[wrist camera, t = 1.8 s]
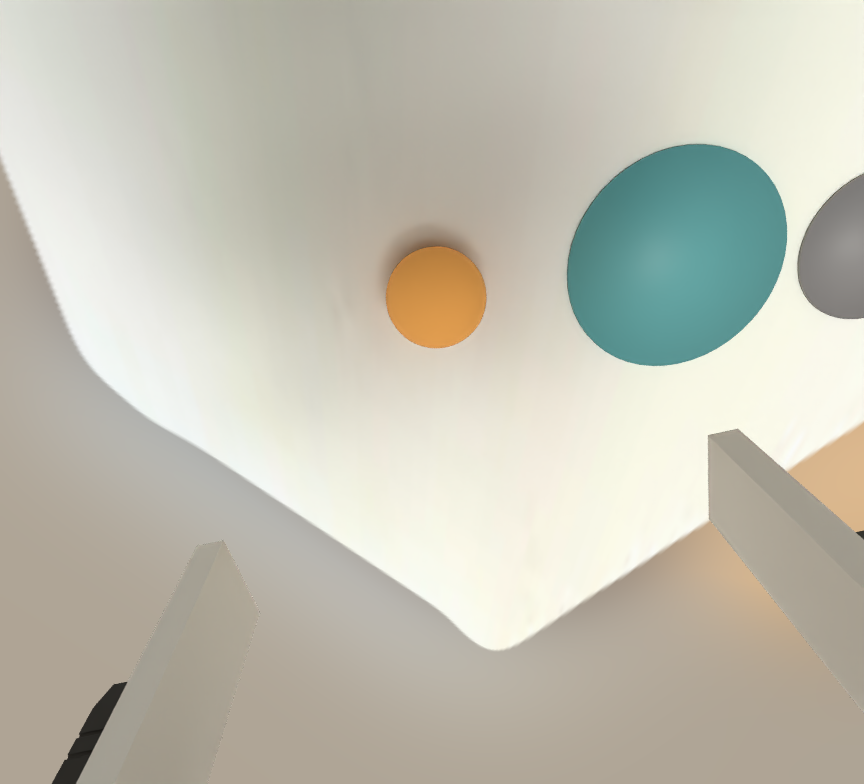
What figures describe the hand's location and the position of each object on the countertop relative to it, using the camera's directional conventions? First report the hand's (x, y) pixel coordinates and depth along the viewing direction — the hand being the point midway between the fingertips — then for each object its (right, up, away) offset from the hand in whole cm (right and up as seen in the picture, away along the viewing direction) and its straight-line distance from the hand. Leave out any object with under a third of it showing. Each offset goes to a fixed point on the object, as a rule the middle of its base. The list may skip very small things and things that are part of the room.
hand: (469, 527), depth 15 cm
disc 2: (+25, +12, +18) cm, 34 cm away
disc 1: (+14, +11, +18) cm, 25 cm away
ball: (-1, +9, +15) cm, 18 cm away
